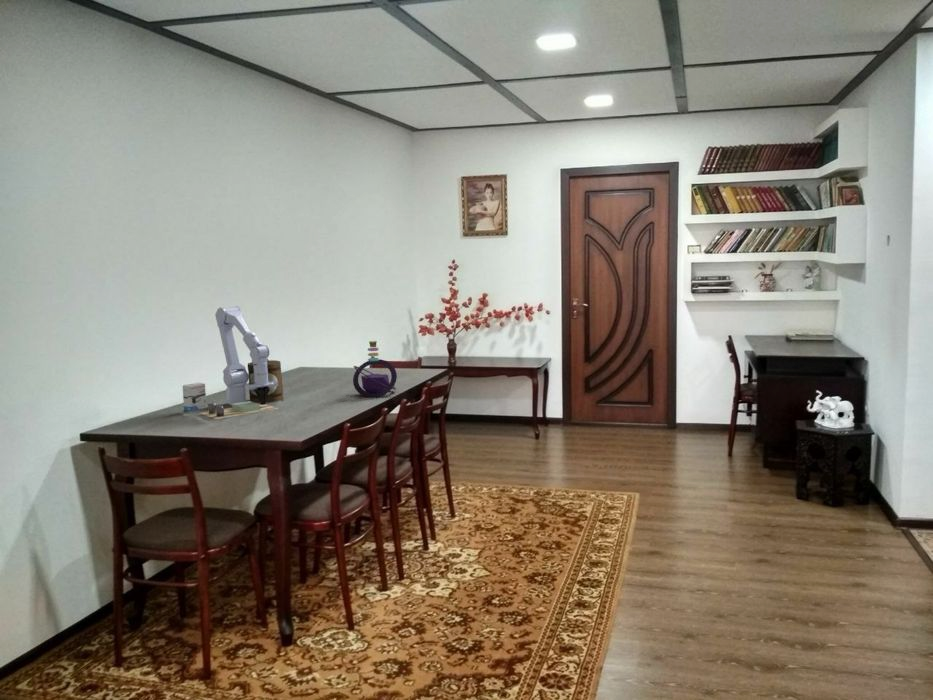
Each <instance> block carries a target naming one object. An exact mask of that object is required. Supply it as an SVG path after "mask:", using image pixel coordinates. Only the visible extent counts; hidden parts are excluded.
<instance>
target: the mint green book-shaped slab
mask: <svg viewBox="0 0 933 700" xmlns="http://www.w3.org/2000/svg"><path fill="white" fill-rule="evenodd" d="M231 408H232V410H235V411H238V412H242V413H243V412H249V411H255V410H260V404H258V403H254V402H251V401H250V400H249V401H248V400H246V402H240V403H233V404H232V405H231Z"/></svg>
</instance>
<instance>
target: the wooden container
mask: <svg viewBox="0 0 933 700" xmlns="http://www.w3.org/2000/svg"><path fill="white" fill-rule="evenodd" d="M267 369H268V382H274V381H277V382H278V386H272V387H268V388H270V391H269V393H268V395H267V398H266V403H273V402H275V403H276V402H279V401H280V402H284V389H283V388H284V385H283V377H282V366H281V361H280V360H276V359H275V360H272V359H271V360H269V359H268V358H267ZM247 373H248V376H249V379H248V385H251V384H255V380H254V365H253V363H252V361H251V362H248V363H247ZM262 387H263V386H262ZM248 393H249V401H251V402H254V403H260V401H259V398H258V396H257V394H256V392H255V391H254V389H252V390H248ZM266 403H265V404H266Z"/></svg>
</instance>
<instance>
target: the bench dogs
mask: <svg viewBox="0 0 933 700" xmlns="http://www.w3.org/2000/svg"><path fill="white" fill-rule="evenodd" d="M207 408H208V411H209V414H215V413H216V415H217V416H218V417H219V416H224V409H225V407H224V405H222V404H221V405H217V403H216V402H210V403H208V404H207Z"/></svg>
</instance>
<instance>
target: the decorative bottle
mask: <svg viewBox="0 0 933 700" xmlns="http://www.w3.org/2000/svg"><path fill="white" fill-rule="evenodd" d="M368 342H369V348H367V351H368V352H370V353H367V356H369V357H370V358H368V359H367V361H365V362H363V363H362V364H360V365H359V366H357V365H353V368H354V369H355V372H354V375H353V378H352V385H353V387H354V389H355V390H356V392H357V393H358V394H360V396H361V395H362V397H366V398H374V399H375V398H379V397H382V396H384V395H386V394H387V393H389V392H390V391H391V390H394V391H395V390H397V389H396V386H395V385H396V382H397V380H398V379H397V378H398V375H397V370H396V368H395V367H394V365H393V364H392V363H390V362H389V361H387V360H384V359H380V358H379V357H378V356H379V355H380V354H379V353H380V352H377V351H379V347H377V340H371V341H368ZM376 364H377V365H383V366H385V367H386V368H387V369H388V370H389V371H390V375H391V378H390V377H389V374H385V373H384V374H383V373H381V374H380V373H378V374H377V373H372V372H371V371H369V370H367V369H366V368H368V367H369V366H370V365H376ZM362 371H364V372H366V373H369V374H366V373H364V372H362ZM360 374H362V375H361V377H360ZM359 377H360V378H361V383H362V385H361V386H362V387H361V386H360V383H359ZM389 379H390V380H389Z"/></svg>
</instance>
